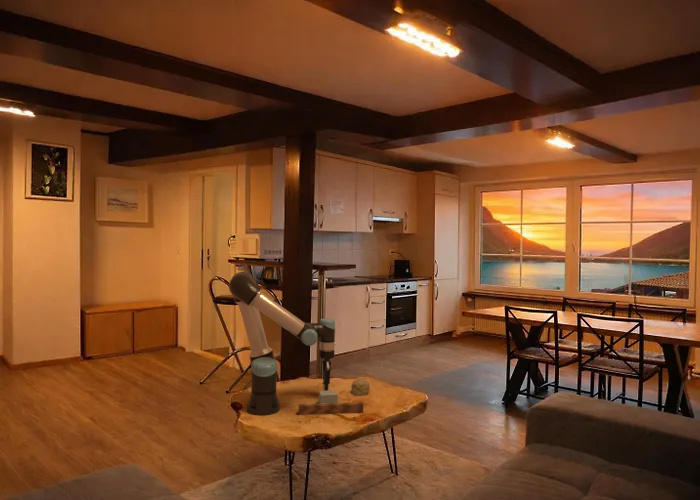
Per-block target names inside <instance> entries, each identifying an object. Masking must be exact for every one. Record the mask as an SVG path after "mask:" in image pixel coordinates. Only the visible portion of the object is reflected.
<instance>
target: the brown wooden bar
mask: <svg viewBox="0 0 700 500" xmlns="http://www.w3.org/2000/svg"><path fill="white" fill-rule="evenodd" d="M297 412H298V415H299V416H304V415H307V416H308V415H309V416H310V415H312V416H313V415H332V414H333V415H334V414H361V413H362V414H363V413H364V402H362V401H358V402H356V401H355V402H338V403H319V402H318V403H298V411H297Z"/></svg>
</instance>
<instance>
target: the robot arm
mask: <svg viewBox="0 0 700 500" xmlns="http://www.w3.org/2000/svg"><path fill="white" fill-rule="evenodd" d="M228 289H229V292H230V294H231V295H232V297H233V301H234V303H235V304H236V305H238V307H239V311H240V314H241V317H242V322H243V325H244V328H245V329H244V330H245V334H246V337H247V339H248V340H247V341H248V344H249V347H250V353H249V356H248V357H249V360H250V363H251V364H250V365H251V367H250V370H251V379H250V380H251V381H250V387H251V388H250V389H251V391H250V396H249V398H248V403H247V405H246V411H247V412H248V413H249V414H252V415H255V416H256V415H258V416H265V415H266V416H269V415H273V414H276V413H278V412H279V411H280V409H281V406H280V401H279V397H278V393H277V379H278V378H277V376H278V375H277V373H278V372H277V371H278V370H277V369H278V362H277V359H276V357H275V355H274V351H273V348H272V347H270V346H269V345H268V340H267V337H266V331H265V329H264V325H263V320H262V317H261V314H260V312H261V313H262V314H264V316H266V317H268V318H269V319H270V320H272V321H273V322H275V323H276V324H278V325H279V326H281V328H283V329H284V330H286V331H288V332H289V333H291V334H292V335H293V336H295V338H297V339H299V340H300V341H301V342H302V344H304V345H306V346H309V347H310V346H313V345H315V344H316V343H317V341H318V339H319V344H318V345H319V347H318V348H319V355H318V357H319V358H320V359H322V361H321V363H322V391H329V390H330V384H331V369H332V367H331V366H332V361H331V360H332V359H334V358H335V345H337V343H336V342H335V339H336V321H335V319H333V318H331V317H330V318H329V317H325V318H321V319H320V321H319V322H305V321H303V320H301V319H300V318H298V317H297V316H296V315H294V314H293V313H292V312H290V311H289V310H287V309H286V308H285V307H284V306H282V305H280V304H279V303H278V302H276V301H275V300H274V299H272V298H270V297H269V296H268V295H266V294H265V293H264V292H263V291H262V289H261V287H259V286H258V285H256V279H255V277H254V275H252V274H251V273H249V272H248V271H240V272H236V273H235V274H234V275H233V276H232V277H231V278H230V280H229V284H228Z"/></svg>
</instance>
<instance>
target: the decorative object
mask: <svg viewBox="0 0 700 500" xmlns="http://www.w3.org/2000/svg"><path fill="white" fill-rule="evenodd" d="M369 392H370V382H369V381H368V379H366V378H364V377H358V378H356V379H354V380H353V382H352V383H351V391H350V393H351V394H352V395H355V396H358V397H359V396H360V397H362V396H368V395H369Z"/></svg>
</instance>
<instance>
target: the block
mask: <svg viewBox="0 0 700 500" xmlns="http://www.w3.org/2000/svg"><path fill="white" fill-rule="evenodd" d="M338 400H339V395H338V393H337V390H335V389H333V390H330V389H329V391H323V390H318V404H319V403H339V402H338Z"/></svg>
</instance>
